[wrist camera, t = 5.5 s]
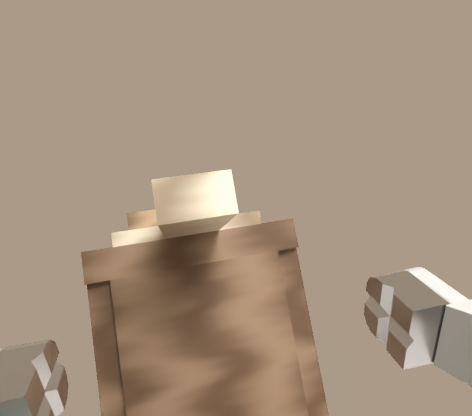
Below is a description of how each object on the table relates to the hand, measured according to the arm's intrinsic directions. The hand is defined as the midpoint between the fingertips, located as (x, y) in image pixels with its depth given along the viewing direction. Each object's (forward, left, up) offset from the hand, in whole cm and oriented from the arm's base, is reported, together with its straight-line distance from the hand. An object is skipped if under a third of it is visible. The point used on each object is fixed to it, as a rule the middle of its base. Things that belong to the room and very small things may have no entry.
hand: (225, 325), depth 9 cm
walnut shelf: (0, +23, -23) cm, 32 cm away
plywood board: (0, +19, +3) cm, 20 cm away
